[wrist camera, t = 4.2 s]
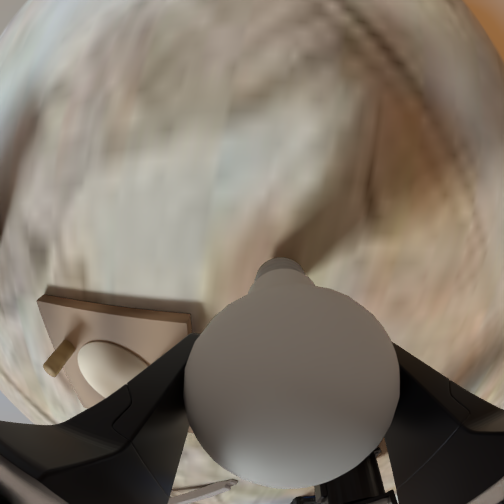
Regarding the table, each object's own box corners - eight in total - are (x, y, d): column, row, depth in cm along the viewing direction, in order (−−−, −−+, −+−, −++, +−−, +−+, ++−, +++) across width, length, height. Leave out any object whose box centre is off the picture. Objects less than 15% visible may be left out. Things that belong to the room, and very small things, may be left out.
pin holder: (190, 314, 16) (172, 357, 12) (205, 425, 20) (198, 462, 16) (43, 294, 16) (12, 321, 12) (87, 400, 20) (71, 428, 17)
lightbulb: (333, 317, 15) (389, 493, 5) (229, 324, 16) (195, 508, 6) (336, 213, 13) (480, 364, 3) (214, 221, 14) (108, 397, 3)
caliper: (152, 491, 30) (145, 519, 25) (146, 489, 30) (139, 516, 24) (238, 479, 25) (235, 520, 19) (232, 477, 25) (228, 518, 19)
